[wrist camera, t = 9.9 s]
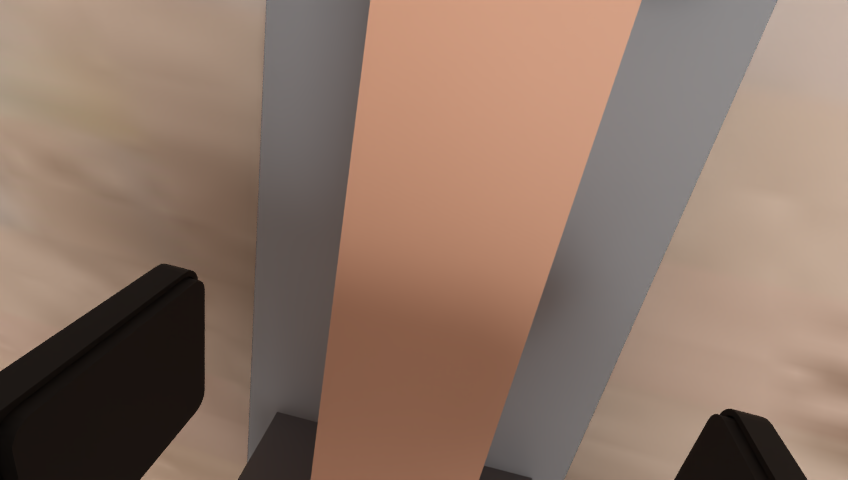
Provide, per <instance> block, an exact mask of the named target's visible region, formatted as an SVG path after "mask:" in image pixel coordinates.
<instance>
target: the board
mask: <svg viewBox="0 0 848 480" xmlns="http://www.w3.org/2000/svg"><path fill="white" fill-rule="evenodd" d="M776 3H777V0H642V1H641V4H640V7H639V10H638V13H637V16H636V18H635V21H634V24H633V27H632V30H631V33H630V36H629V39H628V42H627V45H626V48H625V51H624V54H623V57H622V60H621V63H620V66H619V69H618V72H617V75H616V77H615V80H614V83H613V86H612V89H611V92H610V95H609V98H608V101H607V104H606V107H605V110H604V113H603V116H602V119H601V122H600V125H599V128H598V131H597V133H596V136H595V139H594V142H593V145H592V148H591V151H590V154H589V157H588V160H587V163H586V166H585V169H584V172H583V175H582V178H581V181H580V184H579V187H578V189H577V192H576V195H575V198H574V201H573V204H572V207H571V210H570V213H569V216H568V219H567V222H566V225H565V228H564V231H563V234H562V237H561V240H560V243H559V246H558V248H557V251H556V254H555V257H554V260H553V263H552V266H551V269H550V272H549V275H548V278H547V281H546V284H545V287H544V290H543V293H542V296H541V299H540V302H539V304H538V307H537V310H536V313H535V316H534V319H533V322H532V325H531V328H530V331H529V334H528V337H527V340H526V343H525V346H524V349H523V352H522V355H521V358H520V360H519V363H518V366H517V369H516V372H515V375H514V378H513V381H512V384H511V387H510V390H509V393H508V396H507V399H506V402H505V405H504V408H503V411H502V414H501V417H500V419H499V422H498V425H497V428H496V431H495V434H494V437H493V440H492V443H491V446H490V449H489V452H488V455H487V458H486V461H485V464H484V466H487V467H491V468H495V469H499V470H503V471H507V472H510V473H514V474H518V475H522V476H526V477H530V478H532V480H564V479H565V476H566V474H567V472H568V470H569V467H570V465H571V463H572V461H573V458H574V456H575V454H576V452H577V449H578V447H579V445H580V443H581V440H582V438H583V436H584V434H585V431H586V429H587V427H588V425H589V422H590V420H591V418H592V416H593V414H594V411H595V409H596V407H597V405H598V402H599V400H600V398H601V396H602V393H603V391H604V389H605V387H606V384H607V382H608V380H609V378H610V375H611V373H612V371H613V369H614V366H615V364H616V362H617V360H618V357H619V355H620V353H621V351H622V348H623V346H624V344H625V342H626V339H627V337H628V335H629V333H630V330H631V328H632V326H633V324H634V321H635V319H636V317H637V315H638V312H639V310H640V308H641V306H642V304H643V301H644V299H645V297H646V295H647V292H648V290H649V288H650V286H651V283H652V281H653V279H654V277H655V274H656V272H657V270H658V268H659V265H660V263H661V261H662V259H663V256H664V254H665V252H666V250H667V247H668V245H669V243H670V241H671V238H672V236H673V234H674V232H675V229H676V227H677V225H678V223H679V220H680V218H681V216H682V214H683V211H684V209H685V207H686V205H687V202H688V200H689V198H690V196H691V193H692V191H693V189H694V187H695V185H696V182H697V180H698V178H699V176H700V173H701V171H702V169H703V167H704V164H705V162H706V160H707V158H708V155H709V153H710V151H711V149H712V146H713V144H714V142H715V140H716V137H717V135H718V133H719V131H720V128H721V126H722V124H723V122H724V119H725V117H726V115H727V113H728V110H729V108H730V106H731V104H732V101H733V99H734V97H735V95H736V92H737V90H738V88H739V86H740V83H741V81H742V79H743V77H744V74H745V72H746V70H747V68H748V66H749V63H750V61H751V59H752V57H753V54H754V52H755V50H756V48H757V45H758V43H759V41H760V39H761V36H762V34H763V32H764V30H765V27H766V25H767V23H768V21H769V18H770V16H771V14H772V12H773V9H774V7H775V5H776ZM369 7H370V0H266V23H265V47H264V72H263V96H262V120H261V144H260V169H259V193H258V217H257V242H256V266H255V290H254V314H253V339H252V363H251V387H250V411H249V436H248V460H247V463H248V461H249V460H250V458H251V456H252V454H253V453H254V451H255V449H256V447H257V446H258V444H259V442H260V441H261V439H262V437H263V435H264V434H265V432H266V430H267V428H268V427H269V425H270V423H271V422H272V420H273V418H274V416H275V415H276V413H277V412H280V413H283V414H287V415H291V416H295V417H299V418H303V419H307V420H310V421H314V422H318V417H319V409H320V401H321V393H322V385H323V377H324V368H325V360H326V352H327V344H328V336H329V328H330V320H331V312H332V304H333V296H334V288H335V280H336V272H337V264H338V256H339V248H340V240H341V232H342V224H343V216H344V208H345V200H346V192H347V184H348V176H349V168H350V160H351V152H352V144H353V136H354V128H355V120H356V112H357V103H358V95H359V87H360V79H361V71H362V63H363V55H364V47H365V39H366V31H367V23H368V15H369Z"/></svg>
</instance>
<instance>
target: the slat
mask: <svg viewBox="0 0 848 480" xmlns="http://www.w3.org/2000/svg"><path fill="white" fill-rule="evenodd" d="M641 1H642V0H370V7H369V15H368V23H367V31H366V39H365V47H364V55H363V63H362V71H361V79H360V87H359V95H358V103H357V112H356V120H355V128H354V136H353V144H352V152H351V160H350V168H349V176H348V184H347V192H346V200H345V208H344V216H343V224H342V232H341V240H340V248H339V256H338V264H337V272H336V280H335V288H334V296H333V304H332V312H331V320H330V328H329V336H328V344H327V352H326V360H325V368H324V377H323V385H322V393H321V401H320V409H319V417H318V425H317V433H316V441H315V449H314V457H313V465H312V473H311V480H479V478H480V475H481V473H482V470H483V467H484V464H485V461H486V458H487V455H488V452H489V449H490V446H491V443H492V440H493V437H494V434H495V431H496V428H497V425H498V422H499V419H500V417H501V414H502V411H503V408H504V405H505V402H506V399H507V396H508V393H509V390H510V387H511V384H512V381H513V378H514V375H515V372H516V369H517V366H518V363H519V360H520V358H521V355H522V352H523V349H524V346H525V343H526V340H527V337H528V334H529V331H530V328H531V325H532V322H533V319H534V316H535V313H536V310H537V307H538V304H539V302H540V299H541V296H542V293H543V290H544V287H545V284H546V281H547V278H548V275H549V272H550V269H551V266H552V263H553V260H554V257H555V254H556V251H557V248H558V246H559V243H560V240H561V237H562V234H563V231H564V228H565V225H566V222H567V219H568V216H569V213H570V210H571V207H572V204H573V201H574V198H575V195H576V192H577V189H578V187H579V184H580V181H581V178H582V175H583V172H584V169H585V166H586V163H587V160H588V157H589V154H590V151H591V148H592V145H593V142H594V139H595V136H596V133H597V131H598V128H599V125H600V122H601V119H602V116H603V113H604V110H605V107H606V104H607V101H608V98H609V95H610V92H611V89H612V86H613V83H614V80H615V77H616V75H617V72H618V69H619V66H620V63H621V60H622V57H623V54H624V51H625V48H626V45H627V42H628V39H629V36H630V33H631V30H632V27H633V24H634V21H635V18H636V16H637V13H638V10H639V7H640V4H641Z"/></svg>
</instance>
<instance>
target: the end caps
mask: <svg viewBox="0 0 848 480" xmlns="http://www.w3.org/2000/svg"><path fill="white" fill-rule="evenodd" d="M317 425H318V422H314V421H310V420H307V419H303V418H299V417H295V416H291V415H287V414H283V413H280V412H277V413H276V415H275V416H274V418H273V420H272V422H271V423H270V425H269V427H268V428H267V430H266V432H265V434H264V435H263V437H262V439H261V441H260V442H259V444H258V446H257V447H256V449H255V451H254V453H253V454H252V456H251V458H250V460H249V461H248V463H247V465H246V466H245V468H244V470H243V472H242V473H241V475H240V477H239V478H238V480H311V473H312V465H313V457H314V449H315V441H316V433H317ZM479 480H532V478H530V477H526V476H522V475H518V474H514V473H510V472H507V471H503V470H499V469H495V468H491V467H487V466H484V467H483V470H482V473H481V475H480V478H479Z"/></svg>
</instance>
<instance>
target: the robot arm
mask: <svg viewBox="0 0 848 480" xmlns="http://www.w3.org/2000/svg"><path fill="white" fill-rule="evenodd" d="M204 391H205V289H204V284H203V282H201V281H199V280H198V277H197V275H196V273H195V272H194V271H191V270H187V269H184V268H180V267H176V266H172V265H168V264H161V265H158V266H157V267H155V268H154V269H152V270H151V271H149V272H148V273H146V274H145V275H143V276H142V277H140V278H139V279H137V280H136V281H134V282H133V283H131V284H130V285H128V286H127V287H125V288H124V289H122V290H121V291H119V292H118V293H116V294H115V295H113V296H112V297H110V298H109V299H107V300H106V301H104V302H103V303H101V304H100V305H98V306H97V307H95V308H94V309H92V310H91V311H90V312H88V313H87V314H85V315H84V316H82V317H81V318H79V319H78V320H76V321H75V322H73V323H72V324H70V325H69V326H67V327H66V328H64V329H63V330H61V331H60V332H58V333H57V334H55V335H54V336H52V337H51V338H49V339H48V340H46V341H45V342H43V343H42V344H40V345H39V346H37V347H36V348H34V349H33V350H31V351H30V352H28V353H27V354H25V355H24V356H22V357H21V358H19V359H18V360H17V361H15V362H14V363H12V364H11V365H9V366H8V367H6V368H5V369H3V370H2V371H0V480H140V479H141V478H142V477H143V475H144V474H145V473H146V472H147V470H148V469H149V468H150V467H151V466H152V464H153V463H154V462H155V461H156V460H157V458H158V457H159V456H160V455H161V454H162V452H163V451H164V450H165V449H166V447H167V446H168V445H169V444H170V443H171V441H172V440H173V439H174V438H175V437H176V435H177V434H178V433H179V432H180V431H181V429H182V428H183V427H184V426H185V425H186V423H187V422H188V421H189V420H190V418H191V417H192V416H193V415H194V414H195V412H196V411H197V410H198V408H199V406H200V405H201V402H202V400H203V397H204ZM674 480H807V478H806V477H805V475H804V473H803V472H802V470H801V469H800V467H799V466H798V464H797V463H796V461H795V460H794V458H793V456H792V455H791V453H790V452H789V450H788V449H787V447H786V446H785V444H784V443H783V441H782V439H781V438H780V436H779V435H778V433H777V432H776V430H775V429H774V427H773V425H772V424H771V423H770V422H769V421H768V420H767V419H766V418H763V417H760V416H757V415H753V414H749V413H745V412H741V411H737V410H733V409H726V410H724V411H723V412H722V413H721V414H720V415H718V414H714V415H712V416H711V417H710V418H709V420H708V421H707V423H706V425H705V427H704V428H703V430H702V432H701V434H700V435H699V437H698V439H697V441H696V442H695V444H694V446H693V448H692V449H691V451H690V453H689V455H688V456H687V458H686V460H685V462H684V463H683V465H682V467H681V469H680V470H679V472H678V474H677V476H676V478H675V479H674Z"/></svg>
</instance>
